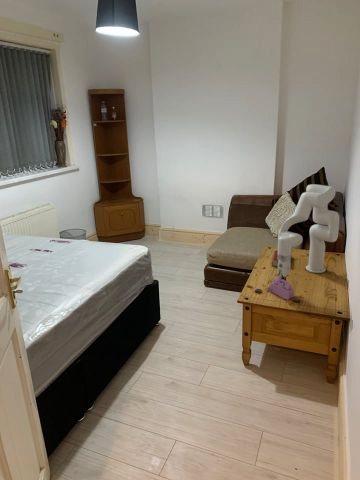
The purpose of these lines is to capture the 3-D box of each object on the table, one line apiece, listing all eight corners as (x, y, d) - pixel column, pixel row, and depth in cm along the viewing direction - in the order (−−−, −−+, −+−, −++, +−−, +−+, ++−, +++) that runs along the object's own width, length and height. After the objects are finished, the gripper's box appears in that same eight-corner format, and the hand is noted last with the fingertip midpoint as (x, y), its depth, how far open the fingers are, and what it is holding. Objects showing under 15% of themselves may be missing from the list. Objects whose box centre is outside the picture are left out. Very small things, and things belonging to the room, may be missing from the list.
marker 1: (257, 290, 218) (257, 288, 218) (261, 291, 217) (261, 289, 216) (255, 292, 216) (255, 290, 216) (259, 293, 214) (259, 291, 214)
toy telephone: (294, 297, 207) (295, 282, 204) (287, 301, 204) (287, 285, 201) (272, 286, 222) (273, 272, 218) (264, 289, 219) (265, 274, 215)
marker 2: (294, 299, 206) (294, 297, 205) (299, 300, 204) (299, 298, 204) (292, 301, 204) (292, 299, 203) (298, 303, 202) (298, 301, 202)
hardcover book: (271, 266, 250) (272, 260, 249) (274, 255, 269) (274, 249, 267) (289, 267, 246) (289, 262, 245) (290, 256, 265) (291, 251, 264)
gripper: (286, 262, 201) (284, 291, 207) (294, 253, 212) (293, 280, 219) (273, 260, 205) (272, 288, 211) (282, 251, 216) (281, 278, 223)
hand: (282, 284), depth 215 cm, fingers closed
